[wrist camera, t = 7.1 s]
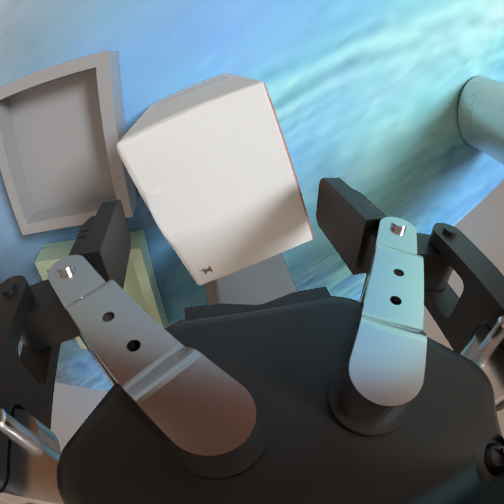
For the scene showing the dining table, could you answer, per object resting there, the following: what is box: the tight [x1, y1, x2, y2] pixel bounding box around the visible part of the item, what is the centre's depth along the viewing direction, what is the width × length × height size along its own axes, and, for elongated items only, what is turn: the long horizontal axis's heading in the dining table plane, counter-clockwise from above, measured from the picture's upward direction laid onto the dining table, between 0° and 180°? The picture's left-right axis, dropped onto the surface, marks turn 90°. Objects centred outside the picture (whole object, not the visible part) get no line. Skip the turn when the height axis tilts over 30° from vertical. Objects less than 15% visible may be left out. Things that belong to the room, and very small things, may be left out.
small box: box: [116, 73, 313, 286], centre depth 18 cm, size 8×6×13 cm
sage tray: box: [34, 230, 169, 349], centre depth 29 cm, size 11×13×3 cm
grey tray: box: [0, 51, 138, 235], centre depth 19 cm, size 11×13×3 cm
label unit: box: [205, 253, 298, 305], centre depth 27 cm, size 7×17×15 cm, turn 1°
